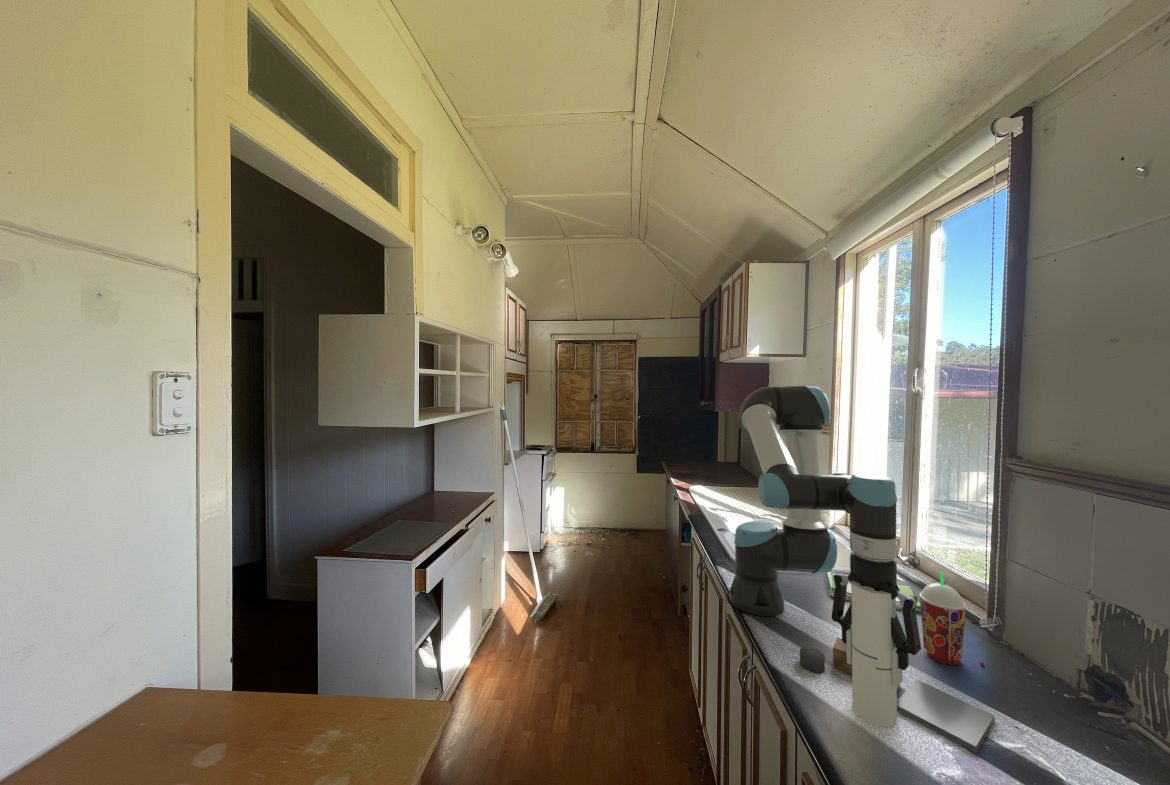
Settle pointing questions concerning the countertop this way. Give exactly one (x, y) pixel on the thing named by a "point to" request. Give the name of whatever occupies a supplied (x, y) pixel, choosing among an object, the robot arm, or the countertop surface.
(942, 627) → the smoothie
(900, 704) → the plate
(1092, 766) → the countertop surface
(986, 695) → the countertop surface
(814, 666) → the black rubber puck
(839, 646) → the walnut block
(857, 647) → the cylindrical container
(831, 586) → the dish towel
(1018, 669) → the countertop surface
